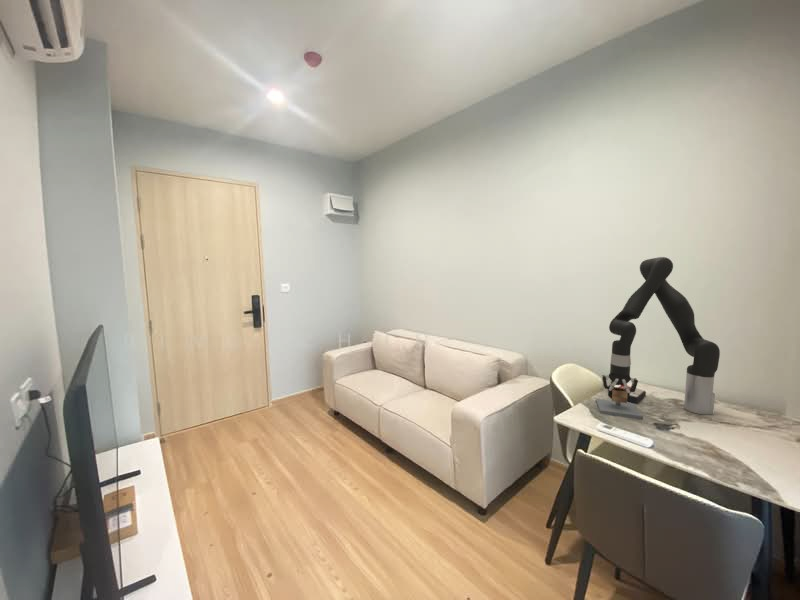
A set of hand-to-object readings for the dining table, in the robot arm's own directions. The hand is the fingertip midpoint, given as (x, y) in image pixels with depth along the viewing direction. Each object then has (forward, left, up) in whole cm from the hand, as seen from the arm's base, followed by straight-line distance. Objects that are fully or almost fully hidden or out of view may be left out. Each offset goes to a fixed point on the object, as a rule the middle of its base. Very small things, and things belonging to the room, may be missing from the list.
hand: (618, 398), depth 149 cm
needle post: (0, 0, -3) cm, 3 cm away
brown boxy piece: (0, 0, -1) cm, 1 cm away
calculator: (-8, -19, -6) cm, 22 cm away
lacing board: (0, 0, -5) cm, 5 cm away
